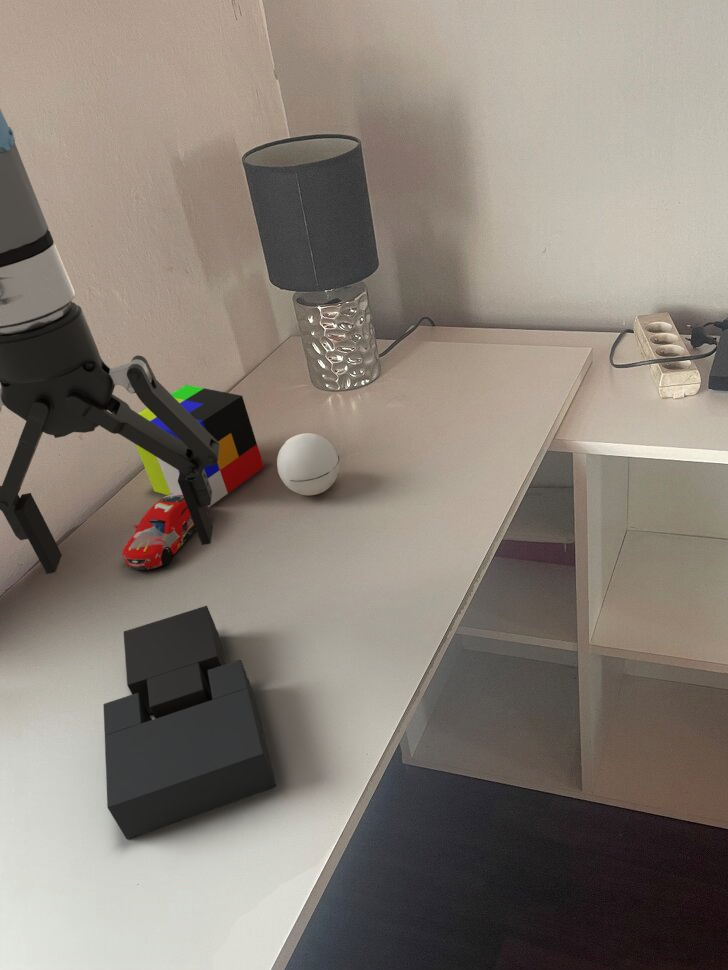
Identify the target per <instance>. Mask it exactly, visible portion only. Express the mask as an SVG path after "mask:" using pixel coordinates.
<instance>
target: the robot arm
mask: <svg viewBox="0 0 728 970" xmlns="http://www.w3.org/2000/svg"><path fill="white" fill-rule="evenodd" d="M75 295H76V291H75V289H74V287H73V284H72V282H71V279H70V277H69V274H68V272H67V270H66V267H65V265H64V263H63V260H62V258H61V255H60V253H59V251H58V248H57V246H56V243H55V241H54V239H53V236H52V233H51V231H50V230H49V226H48V224H47V221H46V217H45V215H44V213H43V211H42V208H41V206H40V203H39V201H38V198H37V195H36V193H35V190H34V188H33V185H32V183H31V180H30V178H29V175H28V173H27V170H26V168H25V165H24V163H23V160H22V158H21V155H20V153H19V149H18V147H17V145H16V139H15V135H14V131H13V129H12V127H10V126H9V124H8V122H7V121H6V117H5V116H4V114H3V112H2V109H0V413H2V410H3V409H2V407H3V406H4V407H5V408H7V409H8V410H9V411H10V412H12V413H13V414H15V415H17V416H18V417H20V418H21V419H23V420H24V421H25V423H24V426H23V428H22V432H21V434H20V436H19V439H18V443H17V446H16V449H15V450H14V453H13V456H12V458H11V461H10V463H9V466H8V469H7V471H6V474H5V476H4V480H3V482H2V484H1V485H0V511H1V512H2V514H3V516H4V518H5V519H6V521H7V523H8V524H9V526H10V528H11V530H12V532H13V535H14V536H15V537H16V538H17V539H18V540H20V541H24V540H25V541H26V540H28V542H29V543H30V545H31V547H32V549H33V551H34V553H35V555H36V557H37V559H38V560H39V562H40V565H41V566H42V568H43V570H44V571H45V574H46V575H50V574H54V573H56V572H57V569H58V567H59V565H60V561H61V558H62V556H63V554H62V551H61V549H60V547H59V546H58V544H57V542H56V540H55V537H54V536H53V534H52V532H51V530H50V527H49V525H48V524H47V522H46V520H45V518H44V516H43V515H42V512H41V511H40V509H39V507H38V504H37V503H36V501H35V499H34V497H33V495H32V492H27V493H22V494H21V496H20V495H19V493H20V491H21V489H22V487H23V486H22V485H23V483H24V480H25V478H26V475H27V473H28V471H29V468H30V466H31V463H32V460H33V458H34V456H35V453H36V451H37V449H38V445H39V443H40V440H41V438H42V436H43V434H47V435H49V436H53V437H54V439H58V438H63V437H67V436H68V435H70V434H71V435H72V434H73V433H81V434H82V433H84V434H86V433H90V432H95V430H96V428H98V427H101V428H102V429H104V430H106V431H108V432H109V433H111V434H113V435H116V434H117V435H119V436H121V437H123V438H125V439H127V440H128V441H129V442H131V443H133V444H134V445H135V444H136V445H138V446H140V447H141V448H143V449H144V450H146V451H148V452H149V453H151V454H153V455H154V456H156V457H158V458H159V459H161V460H162V461H164V462H166V463H167V464H169V465H171V466H172V467H174V468H176V469H177V470H179V471H180V473H179V478H178V483H179V486H180V489H181V491H182V494H183V497H184V499H185V502H186V504H187V507H188V510H189V512H190V515H191V518H192V520H193V523H194V525H195V528H196V529H195V530H196V534H197V536H198V538H199V541H200V545H201V546H205V545H211V543H212V536H213V529H214V526H213V523H212V520H211V517H210V515H209V511H208V512H207V509H206V506H208V505H210V504H211V498H212V489H211V486H210V484H209V481H208V478H207V475H206V472H205V469H204V468H206V467H207V466H213V465H215V464H216V463H217V461H218V456H219V449H220V444H219V442H218V441H217V440H216V439H215V438H214V437H213V436H212V435H211V434H210V433H209V432H208V431H207V430H206V429H205V428H204V427H203V426H202V425H201V424H200V423H199V422H198V421H197V420H196V419H195V418H194V417H193V416H192V415H191V414H190V413H189V412H188V411H187V410H186V409H185V408H184V407H183V406H182V405H181V404H180V403H179V402H178V401H177V400H176V399H175V398H174V397H173V396H172V395H171V392H169V391H168V390H167V389H166V388H165V386H163V384H162V383H160V382H159V381H158V380H157V378H156V376H155V374H154V371H153V370H152V368H151V366H150V364H149V362H148V360H147V359H146V357H144V356H142V355H135V356H133V357H132V359H131V360H130V362H128V363H124V364H122V365H118V366H115V367H112V368H110V366H108V365H107V364H106V362H104V360H103V359H102V357H101V354H100V352H99V349H98V346H97V344H96V340H95V339H94V336H93V334H92V332H91V329H90V327H89V324H88V322H87V319H86V316H85V314H84V312H83V308H82V307H81V306H80V305H78V304H77V303H75V302H73V300H74V298H75ZM116 386H121V387H123V388H124V389H125V390H126V391H127V393H129V394H136V396H137V398H138V399H139V401H141V403H142V404H143V405H144V407H146V408H148V409H149V410H150V411H151V412H152V413H153V414H154V415H155V416H156V417H157V418H158V419H160V420H161V421H162V422H163V423H164V424H165V425H166V426H167V427H168V428H169V429H170V430H171V431H172V432H173V433H174V434H175V435H176V436H177V437H178V438H179V439H180V440H179V439H177V438H176V437H174V436H173V435H171V434H170V433H168V432H166V431H165V430H163V429H162V428H160V427H158V426H157V425H155V424H154V423H152V422H150V421H149V420H147V419H146V418H144V417H143V416H141V415H139V414H138V413H139V412H136V411H135V410H134V409H132V408H131V407H130V405H129V404H128V403H127V402H126V401H124V400H122V399H121V398H119V397H118V396H117V395H115V394H113V393H114V390H115V387H116ZM136 445H135V446H136Z"/></svg>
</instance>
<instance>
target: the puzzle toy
mask: <svg viewBox="0 0 728 970" xmlns="http://www.w3.org/2000/svg"><path fill="white" fill-rule="evenodd" d="M170 394H171V395H172V396H173V397H174V398H175V399H176V400H177V401H178V402H179V403H180V404H181V405H182V406H183V407H184V408H185V409H186V410H187V411H188V412H189V413H190V414H191V415H192V416H193V417H194V418H195V419H196V420H197V421H198V422H199V423H200V424H201V425H202V426H203V427H204V428H205V429H206V430H207V431H208V432H209V433H210V434H211V435H212V436H213V437H214V438H215V439H216V440H217V441H218V442H219V444H220V449H219V456H218V461H217V463H216V464H215V465H213V466H207V467H206V468H204V469H205V472H206V475H207V478H208V481H209V484H210V486H211V489H212V498H211V504H210V505H208V508H210V507H212V506H213V505H214V504H216V503H217V502H219V501H220V500H221V499H223V498H224V497H225V496H227V495H228V494H229V493H231V492H232V491H234V490H235V489H236V488H237V487H239V486H240V485H241V484H243V483H244V482H247V480H249V479H250V478H251V477H253V476H254V475H255V474H257V473H258V472H260V471H261V470H263V468H265V466H264V465H265V464H264V462H263V459H262V455H261V452H260V450H259V446H258V443H257V439H256V436H255V433H254V430H253V426H252V422H251V420H250V417H249V414H248V410H247V407H246V404H245V400H244V397H243V395H242V394H241V395H240V394H236V393H231V392H225V391H220V390H215V389H211V388H204V387H200V386H194V385H189V384H185V385H183V386H181V387H179V388H178V389H177V390H175V391H173V392H170ZM137 413H138V414H139V415H141V416H143V417H144V418H146V419H147V420H149V421H150V422H152V423H154V424H155V425H157V426H158V427H160V428H162V429H163V430H165V431H166V432H168V433H170V434H171V435H173V436H174V437H176V438H177V439H179V438H178V437H177V436H176V435H175V434H174V433H173V432H172V431H171V430H170V429H169V428H168V427H167V426H166V425H165V424H164V423H163V422H162V421H161V420H160V419H158V418H157V417H156V416H155V415H154V414H153V413H152V412H151V411H150V410H149V409H148V408H147V407H146V408H145V409H143V410H141V411H139V412H137ZM179 440H180V439H179ZM134 445H135V447H136V450H137V452H138V455H139V458H140V459H141V462H142V465H143V467H144V469H145V472H146V474H147V477H148V479H149V482H150V484H151V486H152V489H153V492H156V493H158V494H162V495H165V496H168V495H170V494H171V493H174V492H177V491H181V489H180V486H179V483H178V478H179V473H180V471H179V470H177V469H176V468H174V467H172V466H171V465H169V464H167V463H166V462H164V461H162V460H161V459H159V458H158V457H156V456H154V455H153V454H151V453H149V452H148V451H146V450H144V449H143V448H141V447H140V446H138V445H136V444H135V443H134Z"/></svg>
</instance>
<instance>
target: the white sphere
mask: <svg viewBox="0 0 728 970" xmlns="http://www.w3.org/2000/svg"><path fill="white" fill-rule="evenodd" d="M361 454H362V453H361V452H359V453H356V454H351V455H348V456H345V457H341V458H340V457H339V455H338V452H337V450H336V448H335V446H333V444H332V443H330V441H328V440H327V438H325V437H323V436H321V435H319V434H317V433H313V432H312V433H311V432H305V433H299V434H296V435H293V436H292V437H290V438H288V439H287V440H286V441H285V442H284V444H283V445H282V446H281V448H280V450H279V451H278V455H277V458H276V467H277V473H278V475H279V477H280V479H281V481H282V482H283V483H282V484H284V485H285V486H286V487H287V488H288V489H289V490H290V491H292V492H294V493H296V494H298V495H302V496H315V495H320V494H322V493H325V491H327V490H329V488H331V487H332V485H333V484H334V483H335V482H336V480H337V477H338V475H339V471H340V460H343V459H347V458H350V457H353V456H358V455H361Z"/></svg>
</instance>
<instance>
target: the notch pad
mask: <svg viewBox="0 0 728 970" xmlns="http://www.w3.org/2000/svg"><path fill="white" fill-rule="evenodd" d="M208 676H209V682H210V687H211V692H212V698H213V700H211V701H208V702H205V703H202V704H199V705H196V706H193V707H190V708H187V709H184V710H181V711H178V712H175V713H172V714H169V715H166V716H163V717H160V718H157V719H155V718H154V719H153V718H152V717H151V714H149V713H148V711H147V709H146V707H145V705H144V703H143V701H142V699H141V697H140V695H139V693H136V694H132V693H131V694H130V695H126V696H124V697H120V698H118V699H114V700H111V701H109V702H105V703H103V726H104V727H103V728H104V729H103V730H104V754H105V756H104V757H105V779H106V780H105V781H106V782H105V783H106V805H107V810H108V811H109V813H110V815H111V816H112V817H113V819H114V821H115V823H116V824H117V827H118V828H119V829H120V831H121V833H122V834H123V836H124V838H125V839H126V840H129V839H133V838H134V837H135V838H136V837H137V836H141V835H143V834H146V833H149V832H151V831H155V830H157V829H160V828H163V827H166V826H168V825H171V824H174V823H177V822H181V821H183V820H185V819H189V818H191V817H194V816H197V815H199V814H203V813H205V812H208V811H211V810H213V809H216V808H219V807H222V806H225V805H227V804H230V803H233V802H236V801H239V800H241V799H244V798H248V797H250V796H252V795H255V794H258V793H262V792H264V791H267V790H270V789H273V788H275V787H277V783H276V782H277V781H276V777H275V773H274V770H273V766H272V762H271V758H270V754H269V750H268V746H267V741H266V737H265V734H264V730H263V726H262V721H261V717H260V713H259V709H258V704H257V701H256V697H255V693H254V689H253V687H252V684H251V681H250V679H249V677H248V674H247V671H246V669H245V666H244V663H243V662H242V659H237V660H234V661H232V662H229V663H225V665H222V666H219V667H216V668H213V669H210V670H208Z"/></svg>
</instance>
